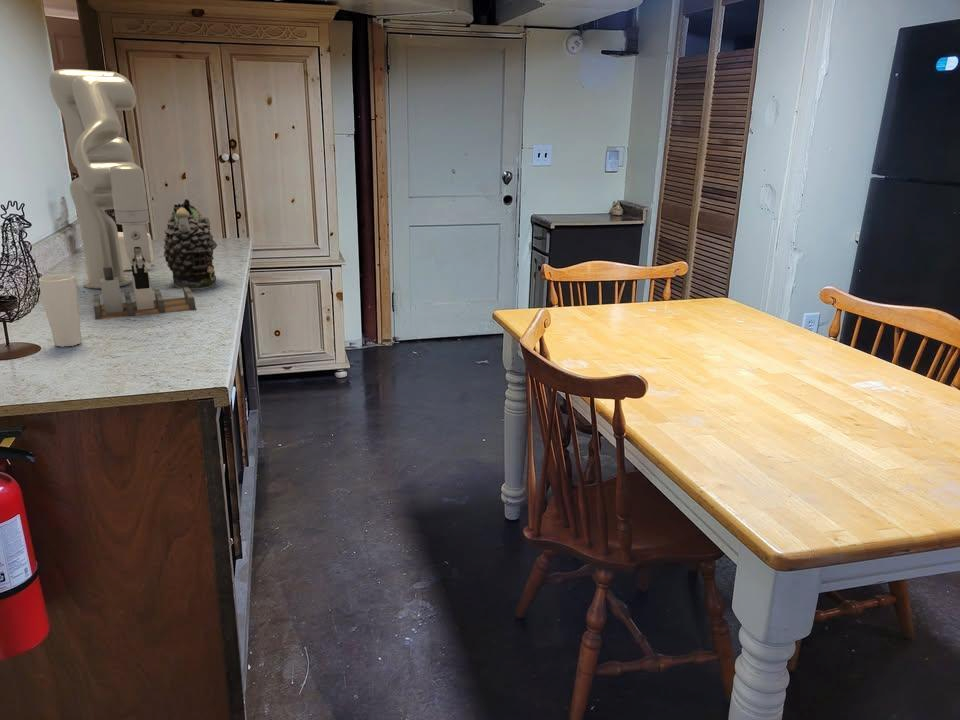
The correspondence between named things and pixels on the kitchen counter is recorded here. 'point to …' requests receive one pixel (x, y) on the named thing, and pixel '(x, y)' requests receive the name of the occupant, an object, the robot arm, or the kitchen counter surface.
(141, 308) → the cream plug
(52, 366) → the kitchen counter surface
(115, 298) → the grey plug
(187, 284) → the decorative house
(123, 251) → the cable organizer
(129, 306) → the wooden divided tray
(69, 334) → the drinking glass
